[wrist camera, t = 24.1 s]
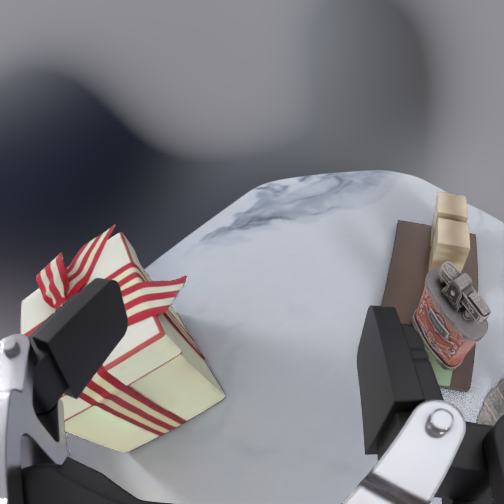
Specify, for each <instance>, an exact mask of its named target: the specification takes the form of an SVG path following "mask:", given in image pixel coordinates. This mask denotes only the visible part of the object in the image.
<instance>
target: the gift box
mask: <svg viewBox="0 0 504 504" xmlns="http://www.w3.org/2000/svg"><path fill="white" fill-rule="evenodd" d="M115 226H116V225H114V226H112V227H111V228H110V229H108V230H107V231H106V232H104V233H102V234H101V235H99V236H98V237H96V238H95V239H93V240H92V241H90V242H88V243H87V244H85V245H83V247H82V248H81V249H80V251H79V252H78V253H77V255H76V256H75V257H74V259H73V261H72V262H71V264H70V266H69V267H67V268H65V265H64V260H63V254H62V253H60V254H59V255H58V256H57V257H56V258H55V259H54V260H53V261H52V262H51V263H49V264H48V265H47V266H46V267H45V268H44V269H43V270H42V271H41V272H40V273H39V274H38V275H37V276H36V280H37V283H38V286H39V288H38V289H37V290H36V291H35V292H33V293H32V294H31V295H30V296H28V297H27V298H26V299H24V300H23V301H22V302H21V334H23V335H25V336H27V337H28V336H29V335H30V334H31V333H32V332H33V331H34V330H35V329H36V328H37V327H38V326H39V325H41V324H42V323H43V322H44V321H45V320H46V319H47V318H48V317H49V316H50V315H51V314H52V313H55V311H56V310H57V309H58V308H59V307H60V306H62V304H63V303H64V302H65V301H67V300H68V299H69V298H70V297H71V296H73V295H75V294H76V293H78V292H80V291H81V290H82V289H83V288H85V287H86V286H87V285H88V284H89V283H90V282H91V281H93V280H94V279H95V278H103V279H110V280H115V281H117V282H118V283H119V285H120V289H121V293H122V297H123V302H124V306H125V310H126V314H127V318H128V327H127V331H126V334H125V335H124V337H123V338H122V339H121V341H120V342H119V343H118V345H117V346H116V347H115V348H114V350H113V351H112V352H111V354H110V355H109V356H108V358H107V359H106V360H105V362H104V363H103V364H102V366H101V367H100V368H99V370H98V371H97V372H96V374H95V375H94V376H93V378H92V379H91V381H90V382H89V383H88V385H87V386H86V387H85V389H84V390H83V392H82V393H81V394H80V396H79V397H78V398H77V399H74V398H72V397H70V396H67V395H65V394H63V395H62V396H61V398H60V399H61V400H62V402H63V407H64V423H65V431H66V432H69V433H71V434H73V435H76V436H78V437H81V438H83V439H86V440H88V441H91V442H94V443H96V444H99V445H102V446H105V447H108V448H110V449H114V450H117V451H120V452H123V453H126V452H129V451H131V450H133V449H135V448H137V447H139V446H141V445H143V444H145V443H147V442H149V441H151V440H153V439H155V438H157V437H158V436H161V435H163V434H165V433H167V432H169V431H171V430H173V429H174V428H176V427H178V426H180V425H181V424H183V423H185V422H186V421H188V420H189V419H191V418H193V417H195V416H197V415H198V414H200V413H202V412H203V411H205V410H207V409H208V408H210V407H211V406H213V405H215V404H216V403H218V402H220V401H221V400H223V399H224V398H225V397H226V395H225V394H224V392H223V390H222V389H221V387H220V385H219V384H218V382H217V381H216V379H215V377H214V376H213V374H212V373H211V371H210V369H209V368H208V366H207V364H206V363H205V358H204V357H203V355H202V354H201V353H200V352H199V351H198V349H197V348H196V345H195V343H194V340H193V338H192V337H191V336H190V335H189V333H188V331H187V330H186V328H185V326H184V324H183V323H182V321H181V319H180V317H179V316H178V314H177V313H176V312H175V311H174V309H173V308H172V307H171V304H172V303H173V301H174V300H175V298H176V296H177V295H178V293H179V291H180V290H181V289H182V287H183V286H184V284H185V282H186V277H187V276H183V277H181V278H179V279H176V280H172V281H152V280H151V278H150V277H149V276H148V274H147V273H146V272H145V270H144V269H143V268H142V266H141V265H140V263H139V261H138V258H137V256H136V253H135V250H134V249H133V248H132V246H131V245H130V243H129V242H128V240H127V239H126V237H125V236H124V235H123V233H122V232H120V233H118V234H117V235H115V236H113V237H112V238H110V236H111V234H112V232H113V230H114V228H115ZM109 238H110V239H109Z"/></svg>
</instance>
